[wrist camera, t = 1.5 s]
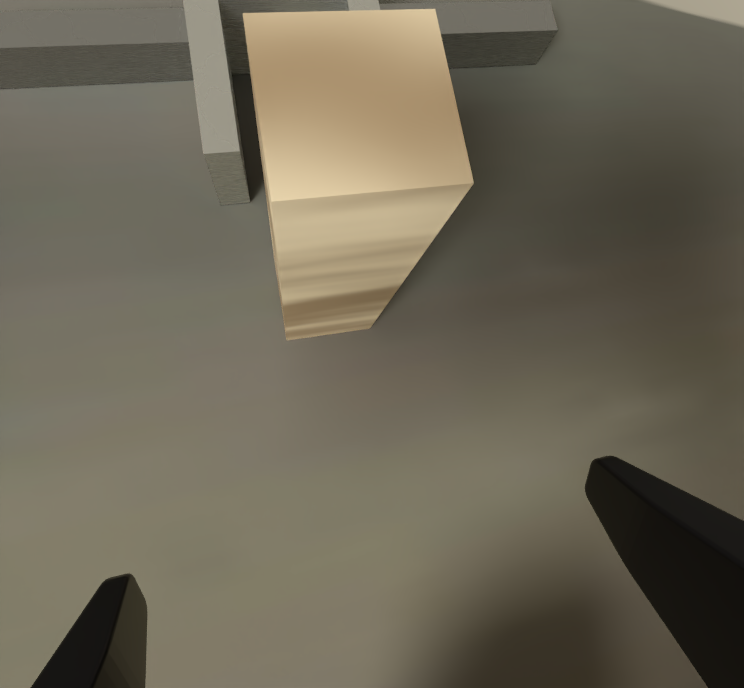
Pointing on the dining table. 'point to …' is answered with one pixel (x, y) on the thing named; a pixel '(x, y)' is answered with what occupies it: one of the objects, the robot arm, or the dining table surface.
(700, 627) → the robot arm
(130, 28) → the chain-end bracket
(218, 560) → the dining table surface
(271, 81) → the beech pin
